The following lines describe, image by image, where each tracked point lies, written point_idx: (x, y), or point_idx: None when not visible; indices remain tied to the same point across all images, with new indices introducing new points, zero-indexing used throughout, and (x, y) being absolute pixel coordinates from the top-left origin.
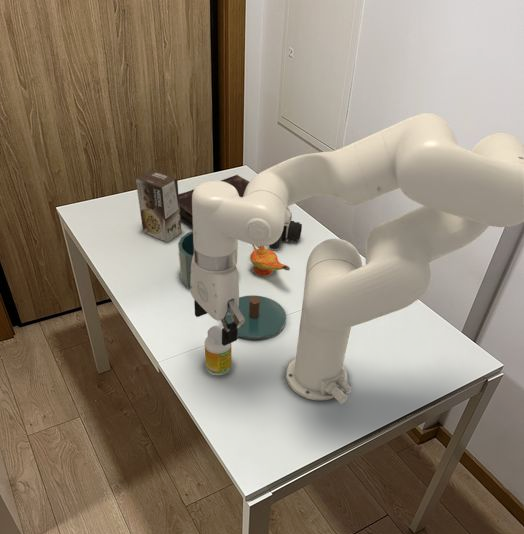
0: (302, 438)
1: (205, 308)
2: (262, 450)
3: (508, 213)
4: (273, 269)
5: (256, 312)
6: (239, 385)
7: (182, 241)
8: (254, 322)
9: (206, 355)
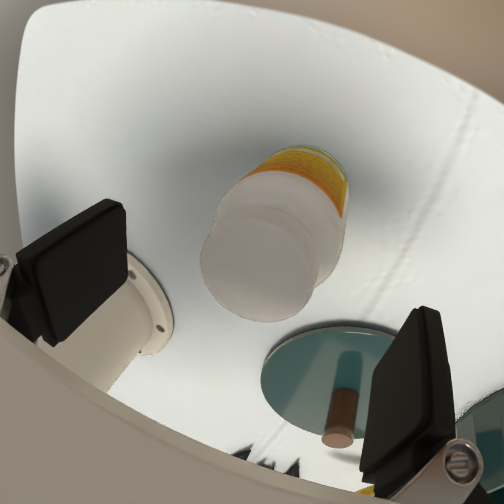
0: (37, 157)
1: (18, 404)
2: (50, 76)
3: None
4: (366, 490)
5: (330, 408)
6: (198, 169)
7: None
8: (327, 380)
9: (305, 164)
